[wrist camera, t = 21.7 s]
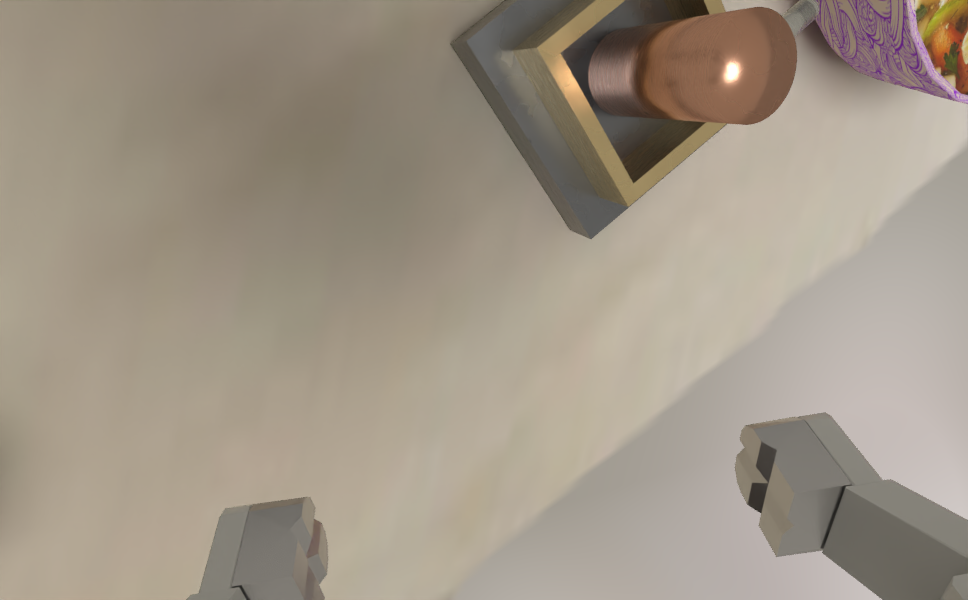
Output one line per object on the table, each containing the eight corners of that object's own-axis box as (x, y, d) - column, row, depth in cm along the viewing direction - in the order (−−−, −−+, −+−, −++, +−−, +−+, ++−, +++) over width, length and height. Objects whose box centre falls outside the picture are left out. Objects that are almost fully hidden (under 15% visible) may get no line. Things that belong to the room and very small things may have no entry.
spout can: (573, 63, 38) (691, 54, 28) (664, -15, 39) (810, -51, 29) (613, 133, 40) (735, 147, 31) (698, 58, 41) (844, 48, 31)
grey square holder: (450, 43, 38) (488, 37, 32) (634, -104, 39) (702, -136, 33) (570, 229, 45) (618, 251, 39) (724, 100, 46) (793, 102, 40)
